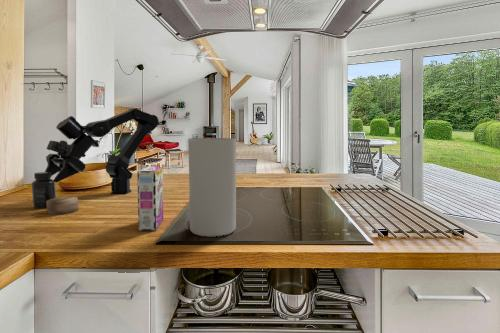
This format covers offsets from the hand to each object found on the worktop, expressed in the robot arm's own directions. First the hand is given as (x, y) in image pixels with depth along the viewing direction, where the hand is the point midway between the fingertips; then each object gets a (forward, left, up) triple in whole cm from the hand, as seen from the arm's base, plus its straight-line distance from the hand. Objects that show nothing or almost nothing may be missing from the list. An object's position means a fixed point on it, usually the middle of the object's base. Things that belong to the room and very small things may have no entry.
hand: (48, 180), depth 111 cm
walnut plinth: (-9, +7, -9) cm, 15 cm away
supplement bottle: (+1, +1, -9) cm, 9 cm away
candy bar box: (-43, +21, -9) cm, 49 cm away
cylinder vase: (-61, +25, -9) cm, 67 cm away
